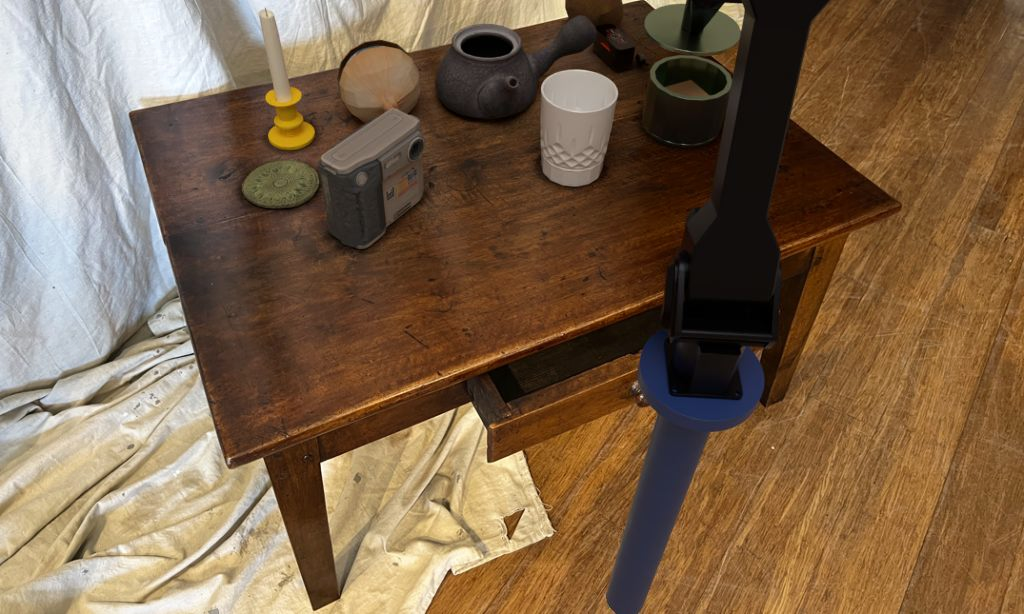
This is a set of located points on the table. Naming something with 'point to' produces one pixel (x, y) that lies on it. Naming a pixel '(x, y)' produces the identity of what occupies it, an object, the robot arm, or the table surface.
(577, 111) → the white cup
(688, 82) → the block
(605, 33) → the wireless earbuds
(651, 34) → the lid
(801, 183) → the table surface
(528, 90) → the teapot
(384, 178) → the camera
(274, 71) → the candle
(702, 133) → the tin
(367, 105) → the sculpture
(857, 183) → the table surface
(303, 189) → the medallion
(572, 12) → the potato
